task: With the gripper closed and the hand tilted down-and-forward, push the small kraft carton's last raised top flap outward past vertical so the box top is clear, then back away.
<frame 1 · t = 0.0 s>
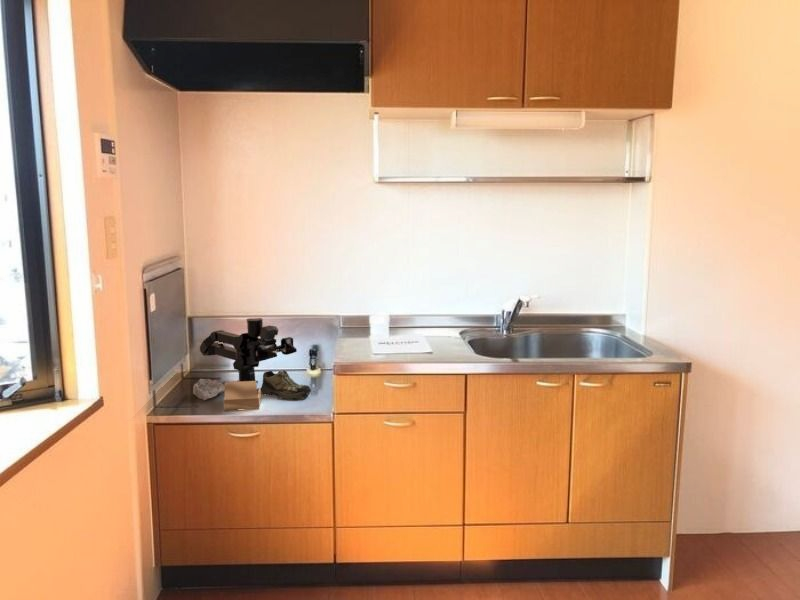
hand: (286, 352, 249), 17 cm above the countertop, tool horizontal, fingers open, 9 cm apart
hiking shoe: (285, 396, 253), on the countertop
flap: (240, 390, 235), point 7 cm above the countertop, hinge at 78.0°
rock: (209, 396, 252), on the countertop
carton: (243, 404, 242), on the countertop
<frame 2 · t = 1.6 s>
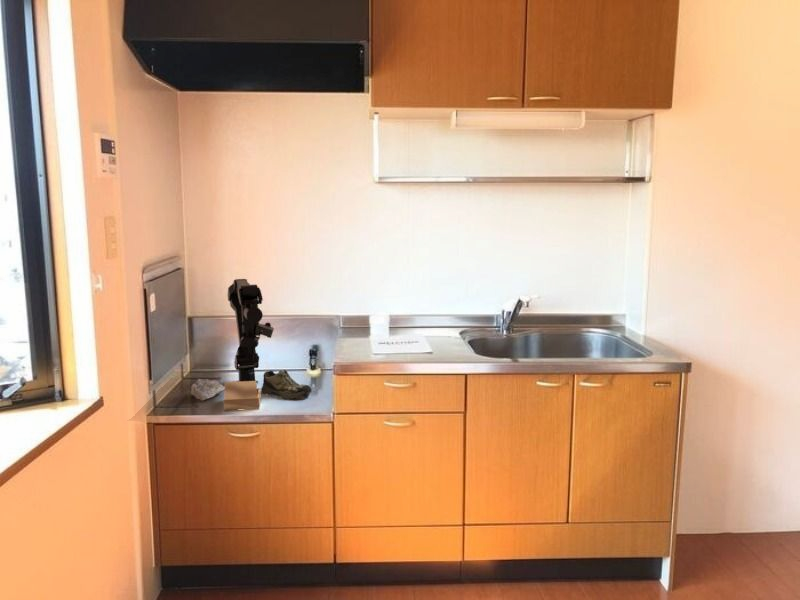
hand: (251, 359, 254), 13 cm above the countertop, tool pointing down, fingers open, 8 cm apart
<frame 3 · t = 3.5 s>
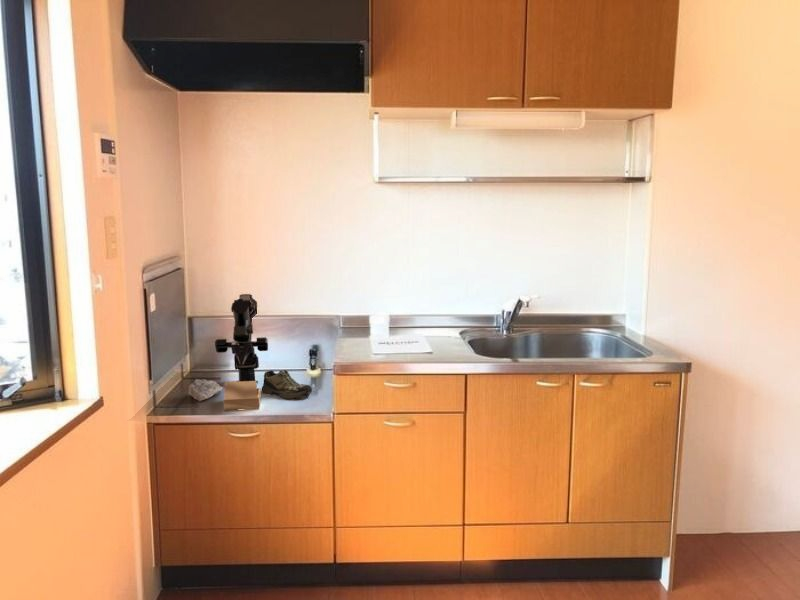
hand: (241, 365, 244), 13 cm above the countertop, tool tilted 45°, fingers closed
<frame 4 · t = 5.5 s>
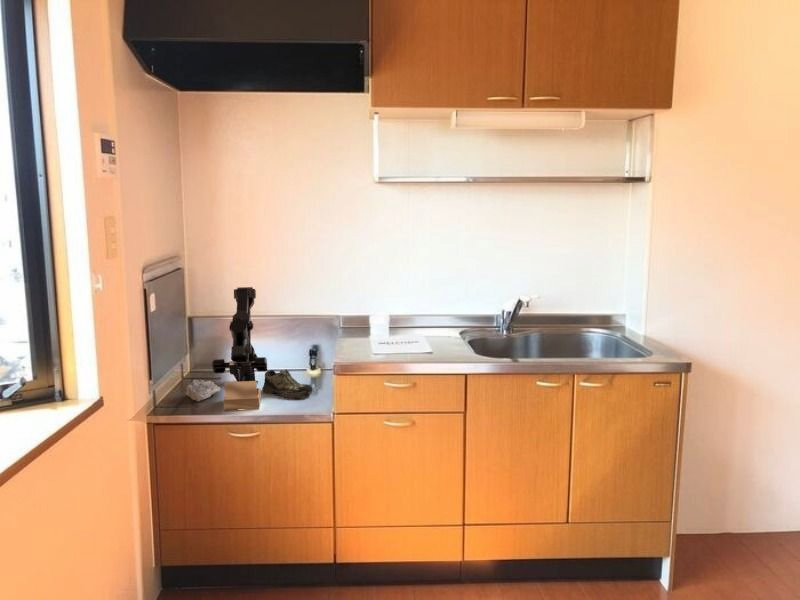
hand: (239, 386, 236), 8 cm above the countertop, tool tilted 45°, fingers closed, pressing on flap
flap: (240, 390, 235), point 7 cm above the countertop, hinge at 78.0°, touching gripper
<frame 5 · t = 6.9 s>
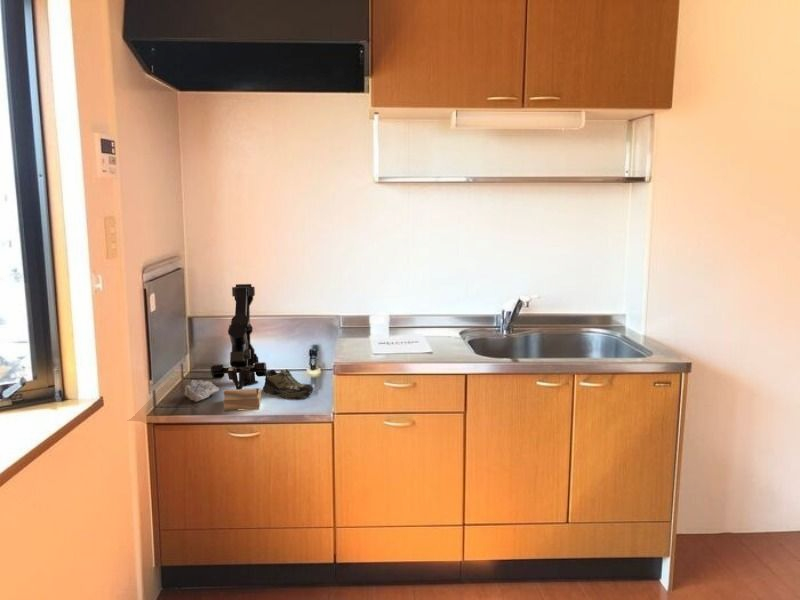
hand: (238, 392, 232), 7 cm above the countertop, tool tilted 45°, fingers closed, pressing on flap
flap: (240, 394, 233), point 6 cm above the countertop, hinge at 132.0°, touching gripper
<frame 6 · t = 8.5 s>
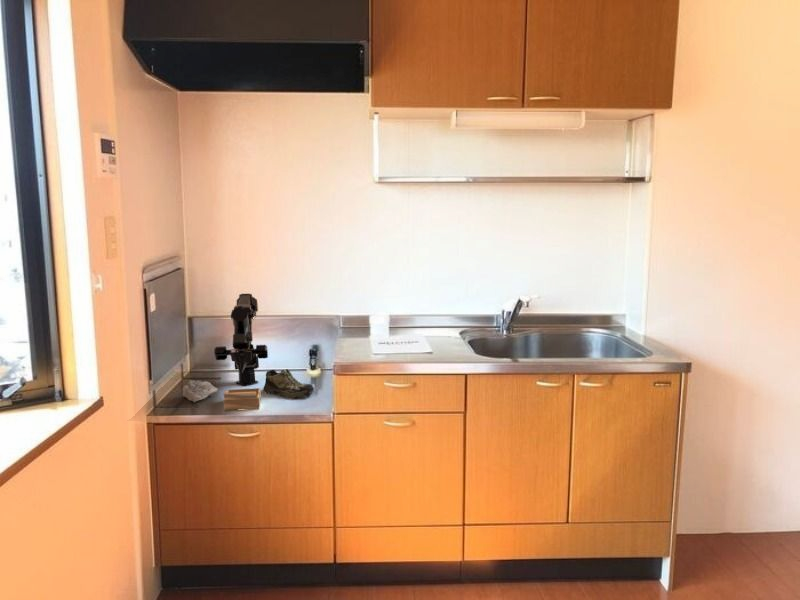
hand: (240, 372, 243), 11 cm above the countertop, tool tilted 45°, fingers closed
flap: (240, 395, 232), point 6 cm above the countertop, hinge at 141.9°
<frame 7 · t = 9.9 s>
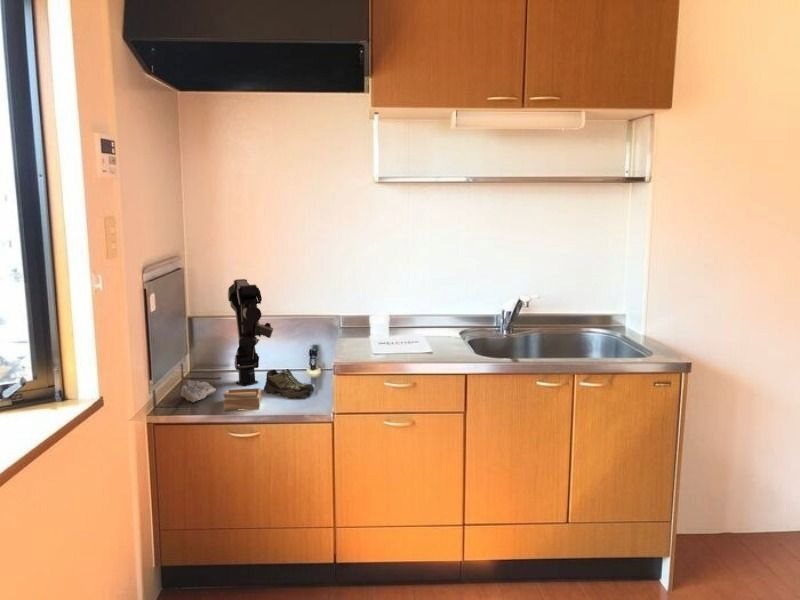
hand: (251, 359, 253), 13 cm above the countertop, tool pointing down, fingers closed
flap: (240, 395, 232), point 6 cm above the countertop, hinge at 142.7°
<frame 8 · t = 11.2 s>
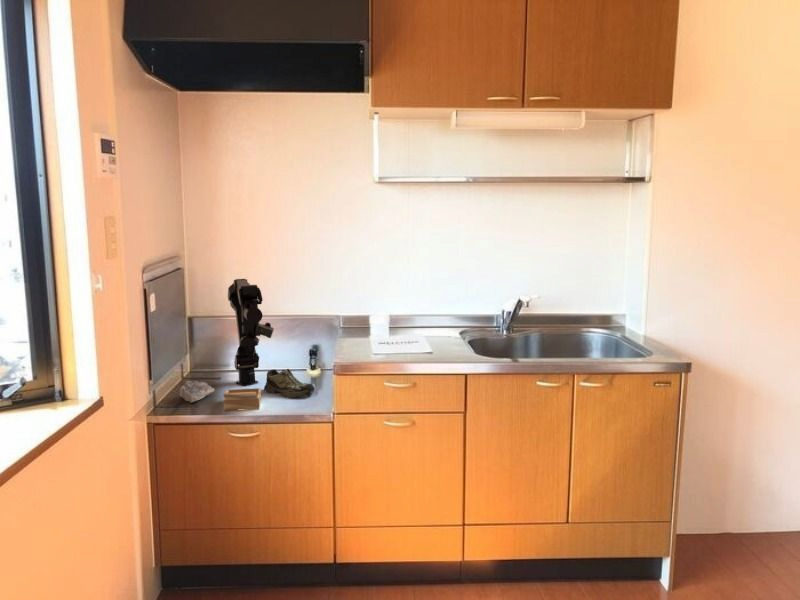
hand: (251, 359, 254), 13 cm above the countertop, tool pointing down, fingers closed
at the end: flap at +143° (first picture: +78°) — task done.
